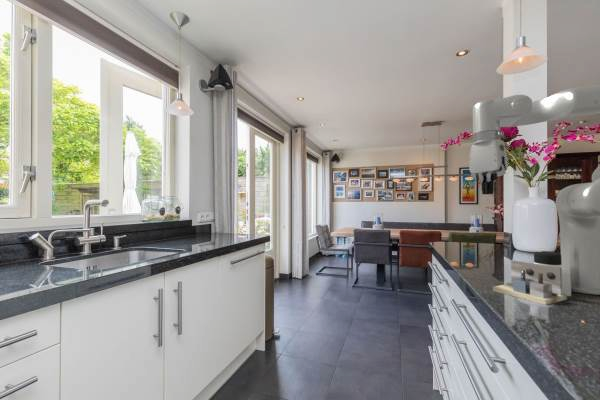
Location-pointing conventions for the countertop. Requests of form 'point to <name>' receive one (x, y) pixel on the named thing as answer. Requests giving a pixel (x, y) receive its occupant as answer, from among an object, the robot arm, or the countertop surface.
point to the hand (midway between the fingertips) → (487, 194)
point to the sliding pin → (522, 283)
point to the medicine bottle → (554, 261)
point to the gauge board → (536, 283)
